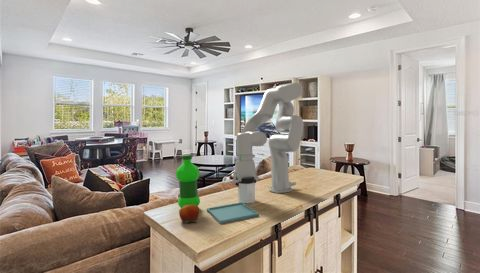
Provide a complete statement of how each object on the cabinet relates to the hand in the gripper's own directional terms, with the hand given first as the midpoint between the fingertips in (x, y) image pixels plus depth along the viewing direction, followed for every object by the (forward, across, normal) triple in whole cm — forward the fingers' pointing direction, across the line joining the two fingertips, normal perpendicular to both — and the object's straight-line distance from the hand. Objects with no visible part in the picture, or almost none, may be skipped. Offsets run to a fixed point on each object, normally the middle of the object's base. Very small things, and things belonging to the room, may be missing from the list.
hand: (246, 194), depth 127 cm
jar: (+4, 0, 0) cm, 4 cm away
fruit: (+4, +31, +12) cm, 33 cm away
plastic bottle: (+4, +28, -2) cm, 28 cm away
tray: (+3, +13, +12) cm, 18 cm away
